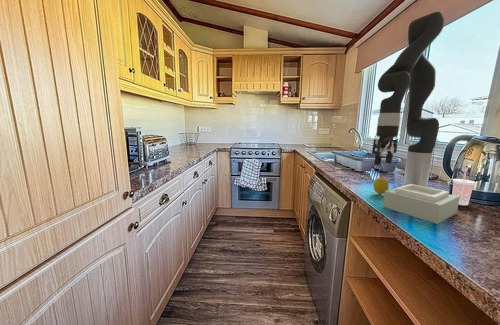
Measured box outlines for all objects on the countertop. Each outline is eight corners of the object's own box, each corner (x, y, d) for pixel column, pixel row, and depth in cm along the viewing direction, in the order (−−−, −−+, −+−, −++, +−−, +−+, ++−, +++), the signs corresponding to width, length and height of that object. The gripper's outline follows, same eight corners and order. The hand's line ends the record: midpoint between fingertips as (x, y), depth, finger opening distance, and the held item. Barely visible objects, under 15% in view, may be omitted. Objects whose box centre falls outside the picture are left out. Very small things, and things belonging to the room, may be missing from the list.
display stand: (404, 199, 86) (406, 181, 85) (456, 213, 73) (460, 192, 72) (382, 206, 78) (385, 187, 77) (437, 223, 65) (441, 200, 64)
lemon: (383, 193, 94) (385, 175, 93) (390, 197, 89) (392, 178, 87) (370, 192, 95) (372, 175, 93) (376, 196, 89) (378, 178, 88)
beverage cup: (470, 203, 83) (477, 167, 80) (471, 207, 78) (478, 170, 76) (448, 199, 87) (454, 165, 84) (448, 203, 82) (455, 167, 80)
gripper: (387, 125, 93) (382, 161, 96) (368, 124, 86) (364, 163, 89) (407, 125, 87) (401, 164, 90) (388, 124, 80) (383, 166, 83)
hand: (383, 163), depth 89 cm, fingers open, 8 cm apart
